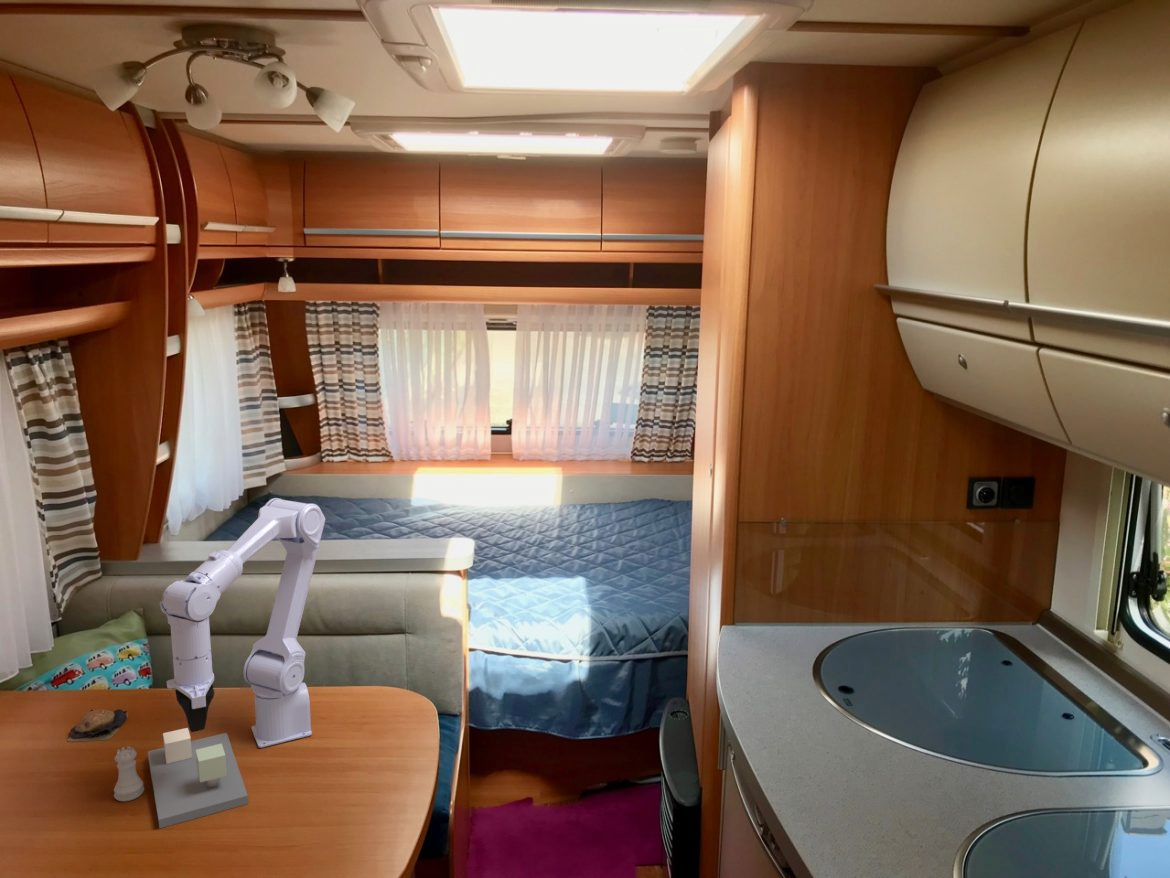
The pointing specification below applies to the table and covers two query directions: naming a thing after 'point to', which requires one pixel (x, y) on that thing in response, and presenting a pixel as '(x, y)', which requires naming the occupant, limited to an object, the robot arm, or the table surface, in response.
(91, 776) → the table surface
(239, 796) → the panel
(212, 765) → the pale green cube
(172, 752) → the cream matte cube
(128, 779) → the rook chess piece
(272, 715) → the robot arm
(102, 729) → the abalone
